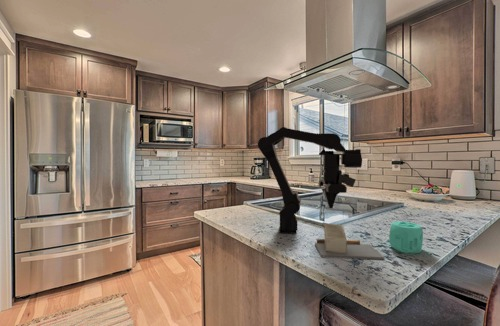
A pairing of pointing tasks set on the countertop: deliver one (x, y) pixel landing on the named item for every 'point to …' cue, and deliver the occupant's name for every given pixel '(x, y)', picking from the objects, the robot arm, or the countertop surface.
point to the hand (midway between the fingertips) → (330, 208)
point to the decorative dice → (406, 237)
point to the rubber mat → (351, 252)
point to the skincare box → (335, 238)
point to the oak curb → (347, 241)
